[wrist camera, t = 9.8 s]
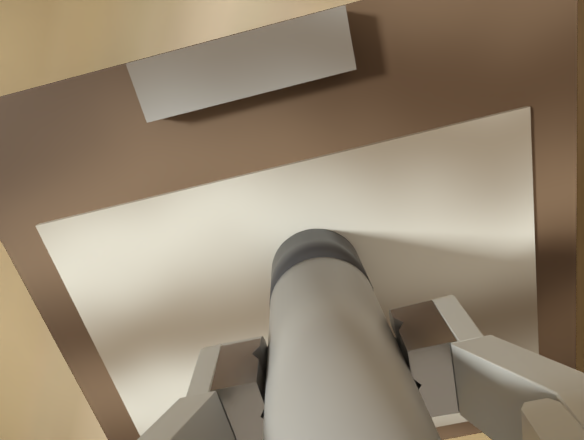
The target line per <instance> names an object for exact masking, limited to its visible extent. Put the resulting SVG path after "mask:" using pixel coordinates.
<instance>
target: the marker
mask: <svg viewBox="0 0 584 440" xmlns="http://www.w3.org/2000/svg"><path fill="white" fill-rule="evenodd" d="M269 305H270V317H269V334H268V352H267V369H266V386H265V404H264V421H263V439H262V440H441V438H440V436H439V433H438V431H437V429H436V427H435V425H434V423H433V420H432V418H431V416H430V414H429V412H428V409H427V407H426V405H425V403H424V401H423V398H422V396H421V394H420V392H419V390H418V387H417V385H416V383H415V381H414V379H413V376H412V374H411V372H410V370H409V368H408V365H407V363H406V361H405V359H404V357H403V354H402V352H401V350H400V348H399V346H398V343H397V341H396V339H395V337H394V335H393V332H392V330H391V328H390V326H389V324H388V321H387V319H386V317H385V315H384V313H383V310H382V308H381V306H380V304H379V302H378V299H377V297H376V295H375V293H374V290H373V287H372V285H371V282H370V280H369V278H368V276H367V274H366V271H365V269H364V267H363V265H362V263H361V261H360V258H359V256H358V254H357V252H356V250H355V248H354V247H353V245H352V244H351V243H350V242H349V241H348V240H347V239H346V238H345V237H343V236H342V235H340V234H338V233H336V232H334V231H331V230H326V229H308V230H304V231H300V232H298V233H296V234H294V235H292V236H291V237H289V238H288V239H287V240H285V241H284V242H283V243H282V244H281V246H280V247H279V248H278V250H277V252H276V254H275V256H274V259H273V263H272V271H271V288H270V304H269Z"/></svg>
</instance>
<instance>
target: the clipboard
mask: <svg viewBox="0 0 584 440" xmlns="http://www.w3.org/2000/svg"><path fill="white" fill-rule="evenodd" d="M576 210H577V0H361V1H357V2H353V3H349V4H346V5H342V6H338V7H334V8H331V9H327V10H323V11H320V12H316V13H312V14H308V15H305V16H301V17H297V18H293V19H290V20H286V21H282V22H278V23H275V24H271V25H267V26H263V27H260V28H256V29H252V30H248V31H245V32H241V33H237V34H233V35H230V36H226V37H222V38H218V39H215V40H211V41H207V42H203V43H200V44H196V45H192V46H188V47H185V48H181V49H177V50H173V51H170V52H166V53H162V54H158V55H155V56H151V57H147V58H143V59H140V60H136V61H132V62H128V63H125V64H121V65H117V66H113V67H110V68H106V69H102V70H98V71H95V72H91V73H87V74H83V75H80V76H76V77H72V78H69V79H65V80H61V81H57V82H54V83H50V84H46V85H42V86H39V87H35V88H31V89H27V90H24V91H20V92H16V93H12V94H9V95H5V96H1V97H0V240H1V242H2V244H3V245H4V247H5V249H6V251H7V253H8V255H9V257H10V258H11V260H12V262H13V264H14V266H15V268H16V270H17V271H18V273H19V275H20V277H21V279H22V281H23V283H24V284H25V286H26V288H27V290H28V292H29V294H30V296H31V297H32V299H33V301H34V303H35V305H36V307H37V309H38V310H39V312H40V314H41V316H42V318H43V320H44V322H45V323H46V325H47V327H48V329H49V331H50V333H51V335H52V336H53V338H54V340H55V342H56V344H57V346H58V348H59V349H60V351H61V353H62V355H63V357H64V359H65V361H66V362H67V364H68V366H69V368H70V370H71V372H72V374H73V375H74V377H75V379H76V381H77V383H78V385H79V387H80V388H81V390H82V392H83V394H84V396H85V398H86V400H87V401H88V403H89V405H90V407H91V409H92V411H93V413H94V414H95V416H96V418H97V420H98V422H99V424H100V426H101V427H102V429H103V431H104V433H105V435H106V437H107V439H108V440H137V439H138V438H139V437H140V436H141V435H142V434H143V433H144V432H145V431H146V430H147V429H149V428H150V427H151V426H152V425H153V424H154V423H155V422H156V421H157V420H158V419H159V418H160V417H161V416H162V415H163V414H164V413H165V412H166V411H167V410H168V409H169V408H170V407H171V406H172V405H173V404H174V403H175V402H176V401H177V400H178V399H179V398H182V397H186V394H187V391H188V388H189V385H190V382H191V378H192V375H193V372H194V369H195V365H196V362H197V359H198V356H199V353H200V350H201V349H203V348H204V347H209V346H213V345H218V344H223V343H228V342H233V341H239V340H244V339H249V338H255V337H260V336H263V337H264V339H265V341H266V344H267V346H268V334H269V317H270V305H269V304H270V288H271V271H272V263H273V259H274V256H275V254H276V252H277V250H278V248H279V247H280V246H281V244H282V243H283V242H284V241H285V240H287V239H288V238H289V237H291V236H292V235H294V234H296V233H298V232H300V231H304V230H308V229H326V230H331V231H334V232H336V233H338V234H340V235H342V236H343V237H345V238H346V239H347V240H348V241H349V242H350V243H351V244H352V245H353V247H354V248H355V250H356V252H357V254H358V256H359V258H360V261H361V263H362V265H363V267H364V269H365V271H366V274H367V276H368V278H369V280H370V282H371V285H372V287H373V290H374V293H375V295H376V297H377V299H378V302H379V304H380V306H381V308H382V310H383V313H384V315H385V317H386V319H387V321H388V324H389V326H390V328H391V330H392V332H393V329H392V326H391V323H390V317H389V310H390V309H395V308H399V307H403V306H408V305H412V304H417V303H421V302H425V301H430V300H432V299H436V298H440V297H444V296H448V295H453V296H455V297H456V298H457V300H458V301H459V303H460V304H461V305H462V307H463V308H464V309H465V311H466V312H467V313H468V315H469V316H470V317H471V319H472V320H473V322H474V323H475V324H476V326H477V327H478V328H479V330H480V331H481V332H482V334H483V335H484V336H487V335H493V336H495V337H497V338H500V339H502V340H505V341H507V342H510V343H512V344H515V345H517V346H519V347H522V348H524V349H527V350H529V351H532V352H534V353H537V354H539V355H541V356H544V357H546V358H549V359H551V360H554V361H556V362H558V363H561V364H563V365H566V366H568V367H571V368H573V369H576ZM393 335H394V337H395V334H394V332H393ZM431 418H432V420H433V423H434V425H435V427H436V429H437V431H438V433H439V436H440V438H441V440H444V439H450V438H455V437H460V436H466V435H471V434H476V433H482V431H481V430H479V429H478V428H477V427H475V426H474V425H473V424H471V423H470V422H469V421H467V420H466V419H465V418H464V417H462V416H461V415H460V413H455V414H449V415H443V416H437V417H431Z"/></svg>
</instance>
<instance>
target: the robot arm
mask: <svg viewBox="0 0 584 440" xmlns="http://www.w3.org/2000/svg"><path fill="white" fill-rule="evenodd" d="M389 317H390V323H391V326H392V329H393V332H394V334H395V339H396V341H397V343H398V346H399V348H400V350H401V352H402V354H403V357H404V359H405V361H406V363H407V365H408V368H409V370H410V372H411V374H412V376H413V379H414V381H415V383H416V385H417V387H418V390H419V392H420V394H421V396H422V398H423V401H424V403H425V405H426V407H427V409H428V412H429V414H430V416H431V417H437V416H443V415H449V414H455V413H460V415H461V416H462V417H464V418H465V419H466V420H467V421H469V422H470V423H471V424H473V425H474V426H475V427H477V428H478V429H479V430H481V431H482V432H483V433H484V434H486V435H487V436H488V437H490V438H491V439H492V440H584V373H583V372H580V371H578V370H576V369H573V368H571V367H568V366H566V365H563V364H561V363H558V362H556V361H554V360H551V359H549V358H546V357H544V356H541V355H539V354H537V353H534V352H532V351H529V350H527V349H524V348H522V347H519V346H517V345H515V344H512V343H510V342H507V341H505V340H502V339H500V338H497V337H495V336H493V335H487V336H484V335H483V334H482V332H481V331H480V330H479V328H478V327H477V326H476V324H475V323H474V322H473V320H472V319H471V317H470V316H469V315H468V313H467V312H466V311H465V309H464V308H463V307H462V305H461V304H460V303H459V301H458V300H457V298H456V297H455V296H453V295H448V296H444V297H440V298H436V299H432V300H430V301H425V302H421V303H417V304H412V305H408V306H403V307H399V308H395V309H390V310H389ZM267 352H268V346H267V344H266V341H265V339H264V337H263V336H260V337H255V338H249V339H244V340H239V341H233V342H228V343H223V344H218V345H213V346H209V347H204V348H203V349H201V350H200V353H199V356H198V359H197V362H196V365H195V369H194V372H193V375H192V378H191V382H190V385H189V388H188V391H187V394H186V397H182V398H179V399H178V400H177V401H176V402H175V403H174V404H173V405H172V406H171V407H170V408H169V409H168V410H167V411H166V412H165V413H164V414H163V415H162V416H161V417H160V418H159V419H158V420H157V421H156V422H155V423H154V424H153V425H152V426H151V427H150V428H149V429H147V430H146V431H145V432H144V433H143V434H142V435H141V436H140V437H139V438H138V439H137V440H262V439H263V421H264V404H265V386H266V369H267Z"/></svg>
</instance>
